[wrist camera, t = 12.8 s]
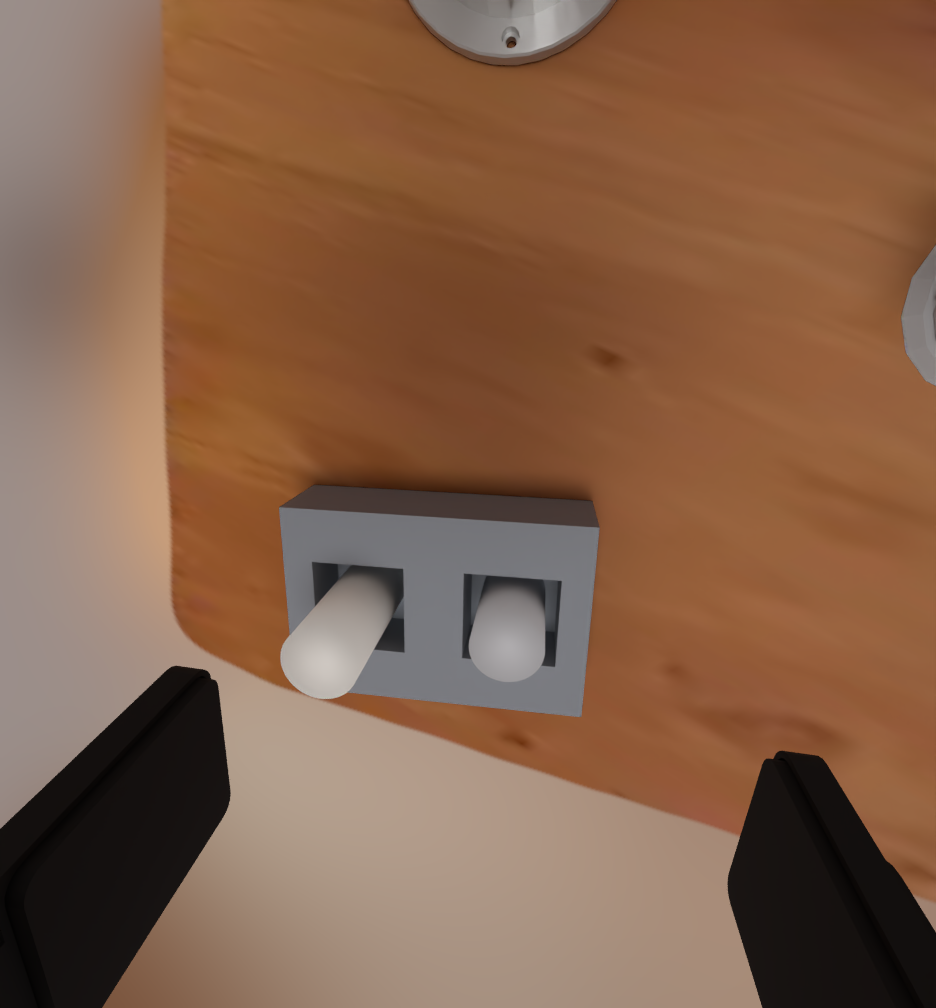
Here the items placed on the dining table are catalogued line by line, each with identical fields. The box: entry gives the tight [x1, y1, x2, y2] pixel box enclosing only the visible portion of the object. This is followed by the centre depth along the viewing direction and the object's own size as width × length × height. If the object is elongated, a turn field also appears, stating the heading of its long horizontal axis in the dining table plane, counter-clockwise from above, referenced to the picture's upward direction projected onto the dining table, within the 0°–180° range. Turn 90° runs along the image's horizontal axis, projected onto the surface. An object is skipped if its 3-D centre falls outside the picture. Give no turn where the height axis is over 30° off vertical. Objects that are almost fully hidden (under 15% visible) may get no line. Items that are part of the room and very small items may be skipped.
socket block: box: [279, 485, 599, 717], centre depth 33 cm, size 12×18×8 cm, turn 89°
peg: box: [281, 565, 404, 699], centre depth 32 cm, size 4×4×10 cm
